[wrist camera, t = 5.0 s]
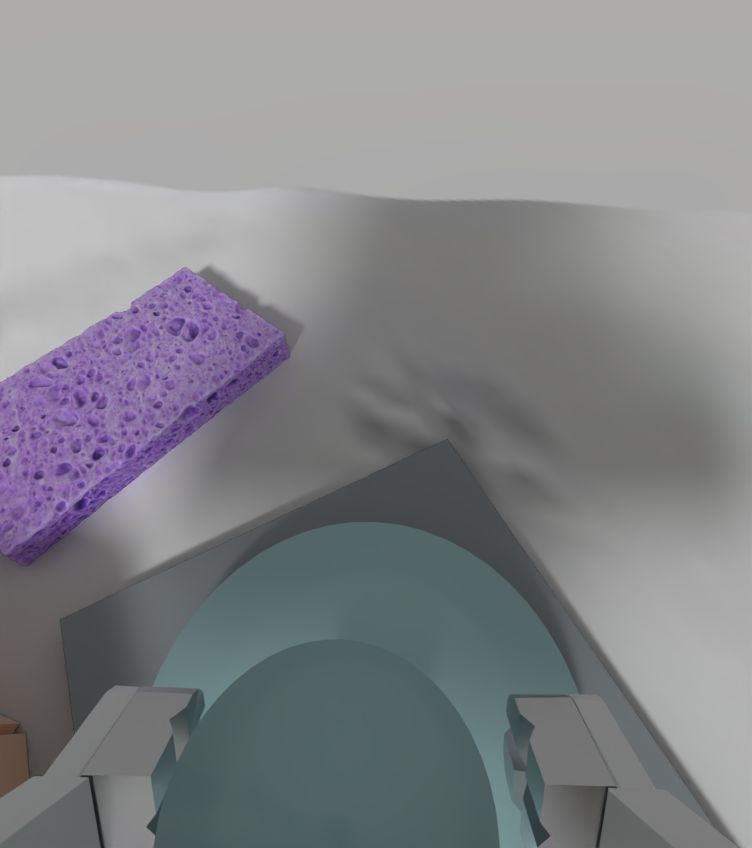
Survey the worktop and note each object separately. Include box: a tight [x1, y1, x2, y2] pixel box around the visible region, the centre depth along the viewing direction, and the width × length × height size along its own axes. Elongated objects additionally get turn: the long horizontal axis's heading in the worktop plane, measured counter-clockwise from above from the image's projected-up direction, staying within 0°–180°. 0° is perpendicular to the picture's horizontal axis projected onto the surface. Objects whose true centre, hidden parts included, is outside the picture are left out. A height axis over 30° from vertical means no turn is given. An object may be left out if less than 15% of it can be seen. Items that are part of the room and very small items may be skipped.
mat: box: [60, 439, 716, 829], centre depth 12 cm, size 14×14×1 cm
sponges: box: [0, 267, 290, 566], centre depth 18 cm, size 7×13×2 cm, turn 139°
